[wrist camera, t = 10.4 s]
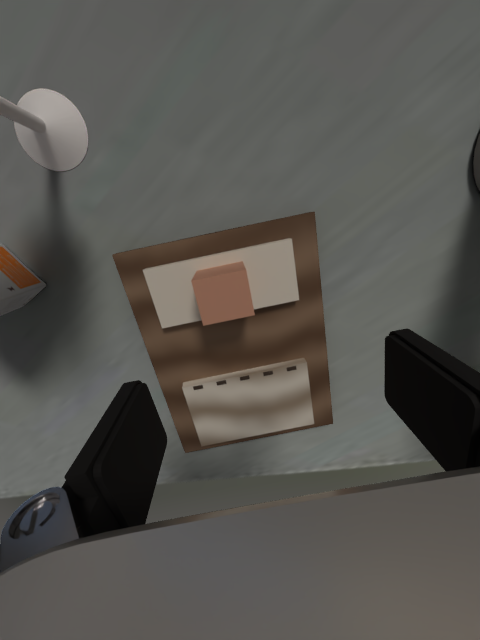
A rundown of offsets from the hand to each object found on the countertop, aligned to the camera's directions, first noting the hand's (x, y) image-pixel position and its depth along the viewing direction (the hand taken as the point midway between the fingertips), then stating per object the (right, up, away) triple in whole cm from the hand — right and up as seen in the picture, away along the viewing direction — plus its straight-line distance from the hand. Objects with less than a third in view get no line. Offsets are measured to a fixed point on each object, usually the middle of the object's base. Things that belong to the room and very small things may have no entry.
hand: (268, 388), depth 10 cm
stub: (-3, +7, +20) cm, 21 cm away
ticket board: (-1, -1, +24) cm, 24 cm away
